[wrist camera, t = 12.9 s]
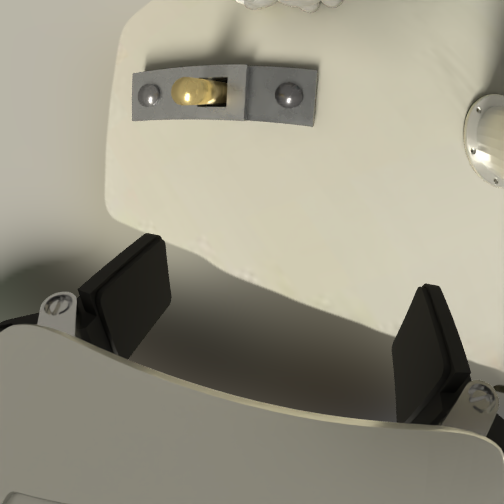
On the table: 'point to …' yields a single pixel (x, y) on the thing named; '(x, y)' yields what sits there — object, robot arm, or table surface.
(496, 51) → the table surface
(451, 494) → the robot arm
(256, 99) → the grey flat bar
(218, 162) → the table surface
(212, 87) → the pin
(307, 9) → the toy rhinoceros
